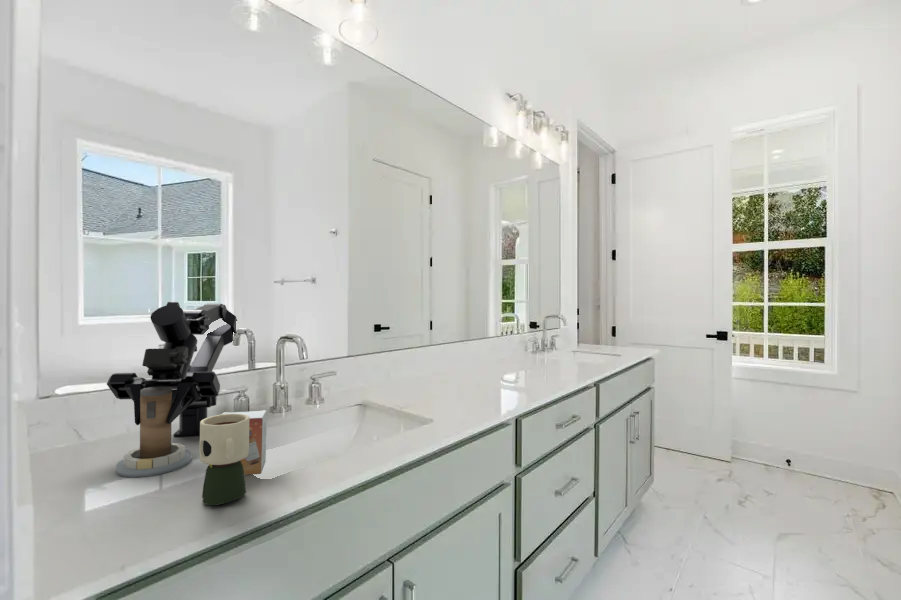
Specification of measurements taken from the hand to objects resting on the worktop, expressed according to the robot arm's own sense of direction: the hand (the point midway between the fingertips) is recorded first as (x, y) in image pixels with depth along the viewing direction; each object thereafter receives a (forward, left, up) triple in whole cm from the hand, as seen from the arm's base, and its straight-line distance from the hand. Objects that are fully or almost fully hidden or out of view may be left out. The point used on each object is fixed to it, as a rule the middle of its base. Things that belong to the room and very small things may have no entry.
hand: (152, 423), depth 82 cm
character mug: (+17, +17, -8) cm, 25 cm away
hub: (-1, 0, -8) cm, 8 cm away
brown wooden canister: (-1, 0, -7) cm, 7 cm away
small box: (+5, +17, -9) cm, 19 cm away
